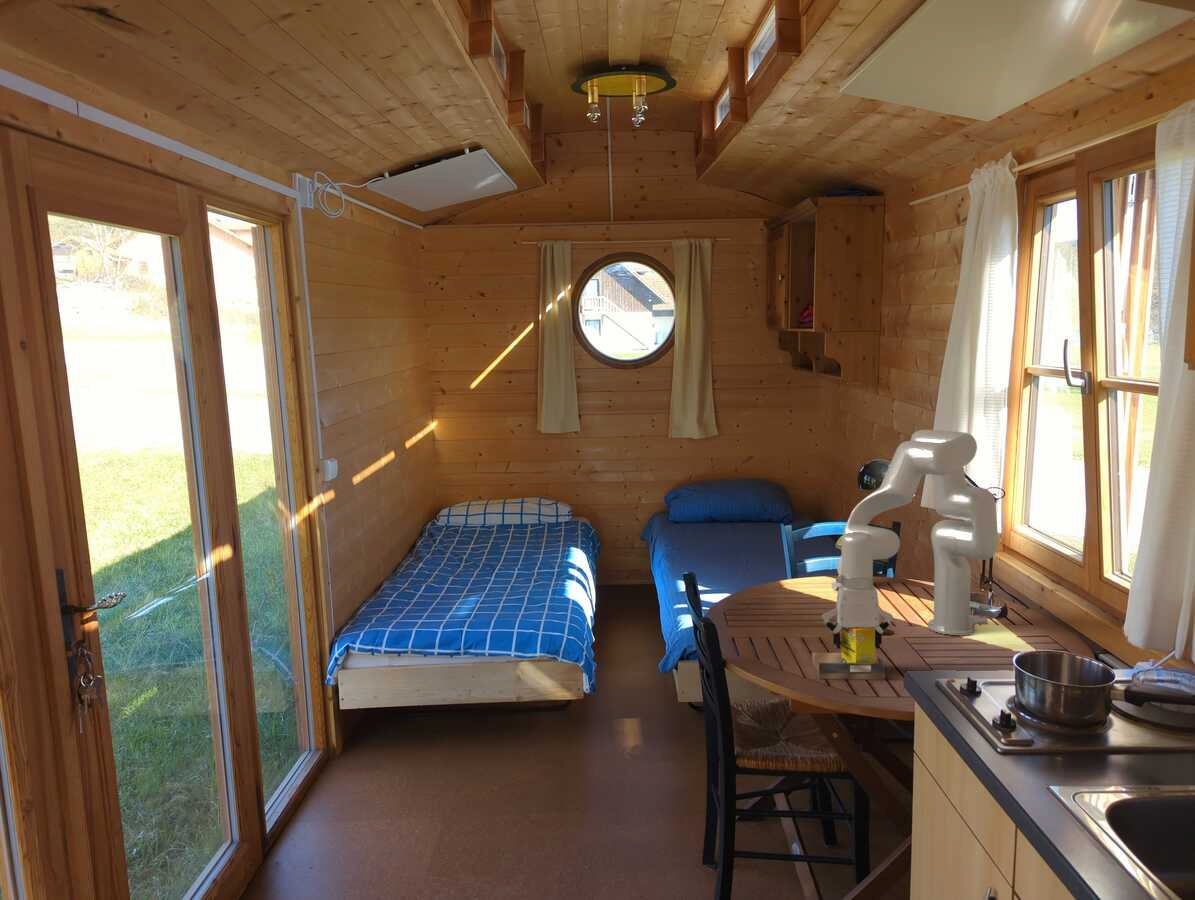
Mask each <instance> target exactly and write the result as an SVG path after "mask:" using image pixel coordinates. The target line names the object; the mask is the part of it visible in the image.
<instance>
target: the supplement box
mask: <svg viewBox="0 0 1195 900" xmlns="http://www.w3.org/2000/svg"><path fill="white" fill-rule="evenodd" d="M875 651H876V647H875V627H874V628H844V627H842V628H841V653H842V663H875V656H876V652H875Z"/></svg>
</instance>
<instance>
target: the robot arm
mask: <svg viewBox="0 0 1195 900" xmlns="http://www.w3.org/2000/svg"><path fill="white" fill-rule="evenodd" d="M898 445H899V446H897V448H896V450H895V452H894V454H893V457H892V459H891V462H890V464H889V466H888V468H887V471H886V473H885V475H884V478H883V480H882V483H881V485H880V486H879V487H878V488H877V489H876V490H874V491H873V492H871V493H870V494H868V495H867V496H866V497H865V498H864V499H862V500H861V501H860V502H859V503H857V505H855V507H854V508H853V509H852V511H851V512H850V514H849V517H848V520H847V522H846V524H845V526H844V529H843V532H842V536H843V537H842V550H841V553H842V554H841V555H842V574H841V576H840V577H839V576H837V577H835V582H836V583H841V584H842V585H840V586H839V588H837V589H838V590H837V597H836V606H835V607H834V608H832V609H831V610H829V611H827V612H825V613H822V614H821V618H822V619H823V622H824V623H825V625H826V627H827V628H829V630H831V632H832V643H833V645H835V647H836V649H837V650H839V649H841V633H840V631H842V627H844V628H874V627H875V649H877V650H879V649H880V645H882V644H883V643H882V642H883V641H882V640H883V639H882V637H883V633H884V631H885V630H886V629H888V627H889V626H890V624H891V622H892V620H893V619H894V616H893V614H892V613H890V612H887V611H885V610H883V609H882V608H880V607H879V605H880V604H879V596H878V590H877V587H876V586H875V585H874V576H873V575H874V570H873V568H874V566H873V565H874V564H873V563H874V561H875V560H885V559H890V558H892V557H893V556H895V555H896V554H897V553H898V552H899V549H900V544H901V541H900V538H899V536H898V534H897V533H896V532H895V531H893V530H890V529H888V528H883V527H877V526H871V525H868V524H869V523H870V522H871V520H873V518H875V517H876V516H878V515H879V514H881V513H883V512H886V511H889V510H892V509H895V508H896V509H897V508H899V507H901V506H906V505H907V504H909V503H911V502H912V501H913V498H914V496H915V494H916V492H917V489H918V486H919V485H920V482H921V479H922V477H923V476H924V475H931V479H932V489H933V490H932V492H933V502H934V503H933V504H934V508H935V511H936V513H937V514H938V515H940V516H942V517H944V518H949V519H944V520H939V521H937V522H936V523H935V524H933V527H932V530H931V535H930V540H931V545H932V549H933V558H934V559H933V561H934V576H933V577H934V579H933V580H934V583H933V585H934V586H933V587H934V589H933V619H930V620H929V621H928V622H927V627H929V628H928V629H931V631H932V630H933V631H932V632H934V631H935V632H934V633H936V632H938V634H940V633H942V634H941V635H944V634H950V635H949V636H951V635H964V636H967V635H966V634H970V633H972V634H974V633H975V632H976V625H988V624H989V623H988V621H989V619H988V617H986V616H985V617H984V616H982V617H981V615H975V614H974V615H973V614H971V613H970V612H971V578H972V577H971V574H972V573H971V567H970V563H969V561H968V559H967V558H969V559H976V560H981V561H982V560H989V559H992V558H993V557H994V556H995V555H996V553H997V550H998V545H999V543H998V542H999V537H998V536H999V535H998V517H997V516H998V515H997V506H996V505H997V504H996V500H995V497H994V495H993V493H992V492H991V491H990V490H988V489H987V488H985V487H984V488H983V487H978V486H972V485H968V484H967V482H966V473H965V472H966V471H965V468H964V467H965V466H967V465H968V464H969V463H971V461H973V460H974V459H975V456H976V454H977V449H978V446H977V445H978V444H977V441H976V439H975V437H974V436H973V435H972V434H970V433H968V432H962V431H950V430H938V429H920V430H917V431H915V432H914V433H912V434H911V437H910V440H905V441H903V442H901V443H900V444H898ZM961 520H962V521H961ZM966 521H967V522H966ZM834 616H835V618H836V621H835V622H834V623H832V622H831V620H830V618H833V617H834ZM880 616H881V617H883V618H884V620H883V621H882V622H881V623H880ZM974 631H975V632H974ZM973 632H974V633H973ZM970 635H971V634H970Z"/></svg>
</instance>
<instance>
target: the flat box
mask: <svg viewBox="0 0 1195 900" xmlns="http://www.w3.org/2000/svg"><path fill="white" fill-rule="evenodd" d="M811 659H812V662H813V664H814V668H815V670H816V671H815V672H816V673H817V678H818V679H819V680H877V681H878V680H879V681H880V680H881V681H883V680H885V681H886V663H885V662H880V661H879V660H878V657H877V656H876V655H875V663H842V652H812V653H811Z"/></svg>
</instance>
